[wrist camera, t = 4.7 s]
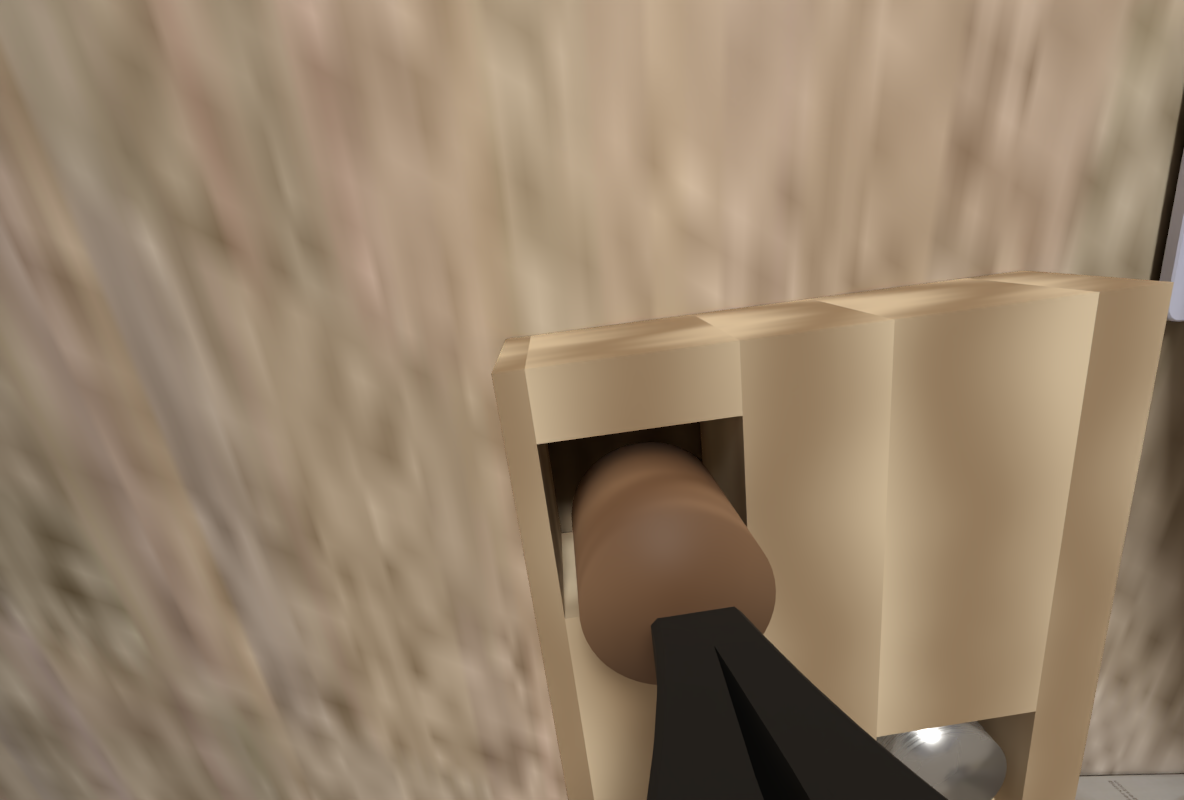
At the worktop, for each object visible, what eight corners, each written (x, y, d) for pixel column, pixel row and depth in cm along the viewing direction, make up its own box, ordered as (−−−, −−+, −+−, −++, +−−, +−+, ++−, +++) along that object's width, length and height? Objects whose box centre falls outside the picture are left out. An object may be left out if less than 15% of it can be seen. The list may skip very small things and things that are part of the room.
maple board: (1023, 270, 16) (1173, 281, 12) (970, 745, 21) (1063, 858, 17) (505, 339, 15) (491, 373, 11) (585, 809, 21) (593, 939, 17)
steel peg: (931, 638, 19) (1012, 724, 16) (925, 718, 20) (1000, 815, 17) (830, 653, 19) (890, 743, 16) (829, 733, 20) (885, 834, 17)
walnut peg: (715, 432, 13) (773, 501, 9) (722, 564, 14) (777, 669, 11) (562, 453, 13) (566, 531, 9) (581, 585, 14) (591, 698, 10)
